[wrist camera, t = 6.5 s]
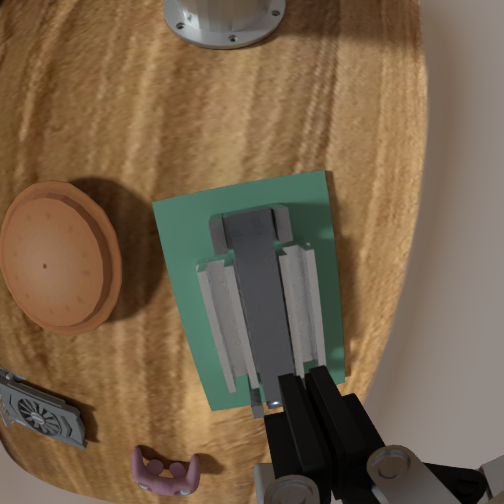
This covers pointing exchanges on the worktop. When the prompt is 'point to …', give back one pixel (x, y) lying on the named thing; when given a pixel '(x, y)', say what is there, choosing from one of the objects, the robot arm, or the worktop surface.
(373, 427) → the robot arm
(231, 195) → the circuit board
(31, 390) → the graphics card
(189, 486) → the video game controller
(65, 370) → the worktop surface
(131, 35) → the worktop surface
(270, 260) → the grey lever rod
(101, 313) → the pie
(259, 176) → the worktop surface
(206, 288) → the heat sink
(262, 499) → the power adapter
